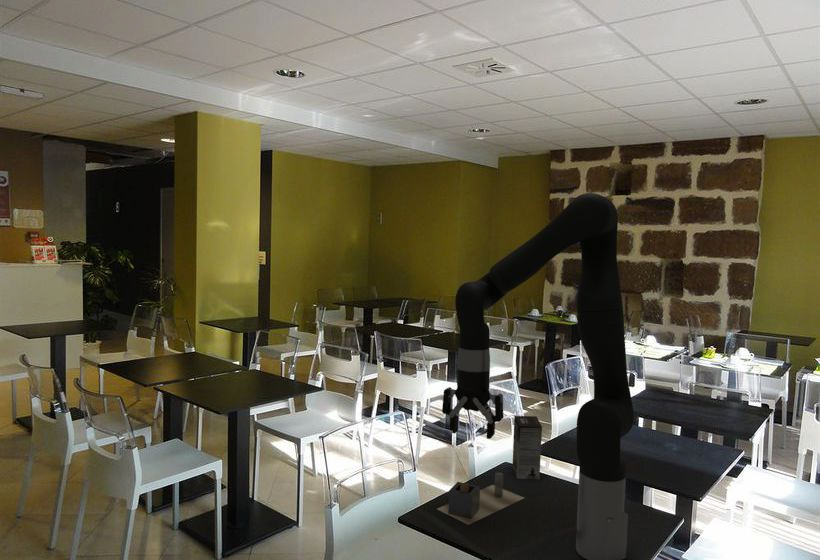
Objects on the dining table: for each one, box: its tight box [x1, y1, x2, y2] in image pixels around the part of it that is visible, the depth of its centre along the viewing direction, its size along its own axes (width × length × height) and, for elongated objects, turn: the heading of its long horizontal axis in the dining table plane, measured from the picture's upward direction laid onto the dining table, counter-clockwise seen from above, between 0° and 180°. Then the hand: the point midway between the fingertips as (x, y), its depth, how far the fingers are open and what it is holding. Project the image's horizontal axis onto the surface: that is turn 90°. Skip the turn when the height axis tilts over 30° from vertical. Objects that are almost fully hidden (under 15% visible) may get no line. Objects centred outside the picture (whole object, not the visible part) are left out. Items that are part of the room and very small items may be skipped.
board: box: [436, 472, 525, 525], centre depth 143 cm, size 21×10×8 cm, turn 133°
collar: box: [448, 481, 481, 519], centre depth 138 cm, size 6×6×6 cm
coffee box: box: [512, 415, 543, 480], centre depth 162 cm, size 9×6×16 cm
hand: (471, 435), depth 139 cm, fingers open, 8 cm apart
